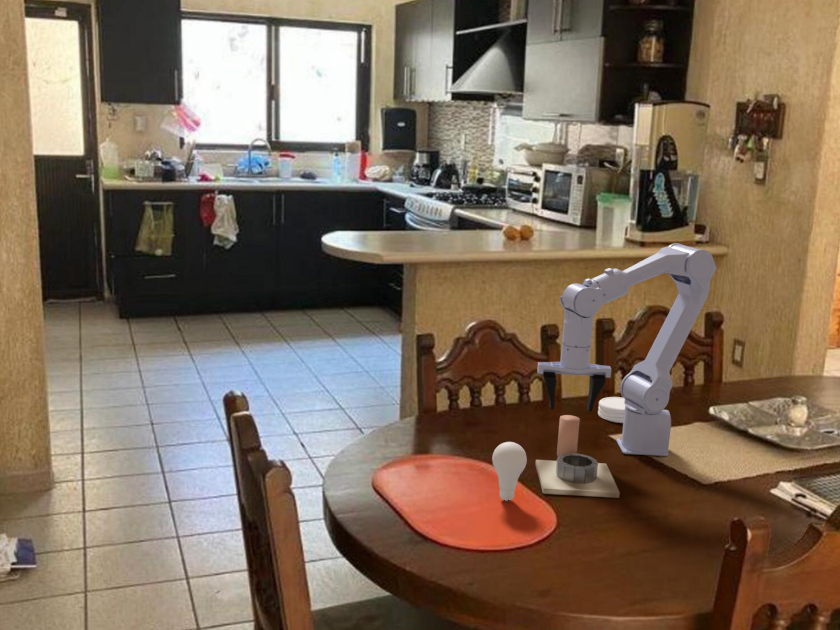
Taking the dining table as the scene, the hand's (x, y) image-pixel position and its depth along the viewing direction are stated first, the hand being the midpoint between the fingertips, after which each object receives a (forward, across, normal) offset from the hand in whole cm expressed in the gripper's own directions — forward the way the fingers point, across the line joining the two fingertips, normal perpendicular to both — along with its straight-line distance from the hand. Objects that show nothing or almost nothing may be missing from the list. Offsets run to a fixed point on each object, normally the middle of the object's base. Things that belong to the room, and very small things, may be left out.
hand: (570, 408), depth 181 cm
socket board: (+10, 0, +13) cm, 16 cm away
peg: (+10, 0, 0) cm, 10 cm away
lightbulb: (+10, +14, +24) cm, 30 cm away
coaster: (+10, -16, -27) cm, 33 cm away
